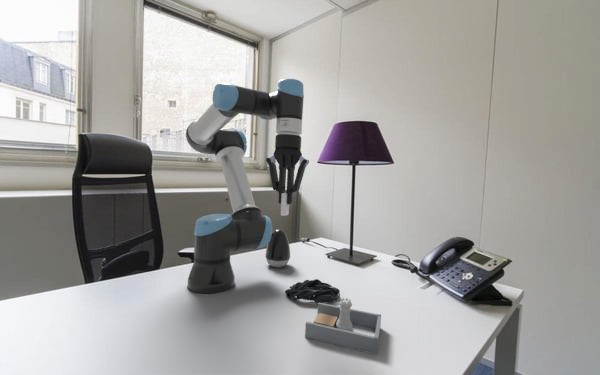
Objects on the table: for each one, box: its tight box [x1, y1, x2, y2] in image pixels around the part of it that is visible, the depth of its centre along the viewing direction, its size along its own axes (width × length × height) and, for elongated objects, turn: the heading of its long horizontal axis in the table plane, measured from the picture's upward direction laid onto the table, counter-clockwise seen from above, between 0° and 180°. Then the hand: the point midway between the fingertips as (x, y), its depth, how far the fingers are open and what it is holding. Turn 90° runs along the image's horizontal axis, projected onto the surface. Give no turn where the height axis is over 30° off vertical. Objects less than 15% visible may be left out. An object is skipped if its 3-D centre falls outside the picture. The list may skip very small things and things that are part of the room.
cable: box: [284, 278, 341, 304], centre depth 95 cm, size 17×14×4 cm
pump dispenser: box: [265, 228, 291, 268], centre depth 121 cm, size 10×10×15 cm
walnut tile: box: [312, 313, 338, 328], centre depth 75 cm, size 5×5×2 cm
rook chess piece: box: [335, 297, 354, 332], centre depth 74 cm, size 4×4×8 cm
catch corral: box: [304, 303, 382, 355], centre depth 73 cm, size 17×12×4 cm
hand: (284, 214), depth 87 cm, fingers closed
